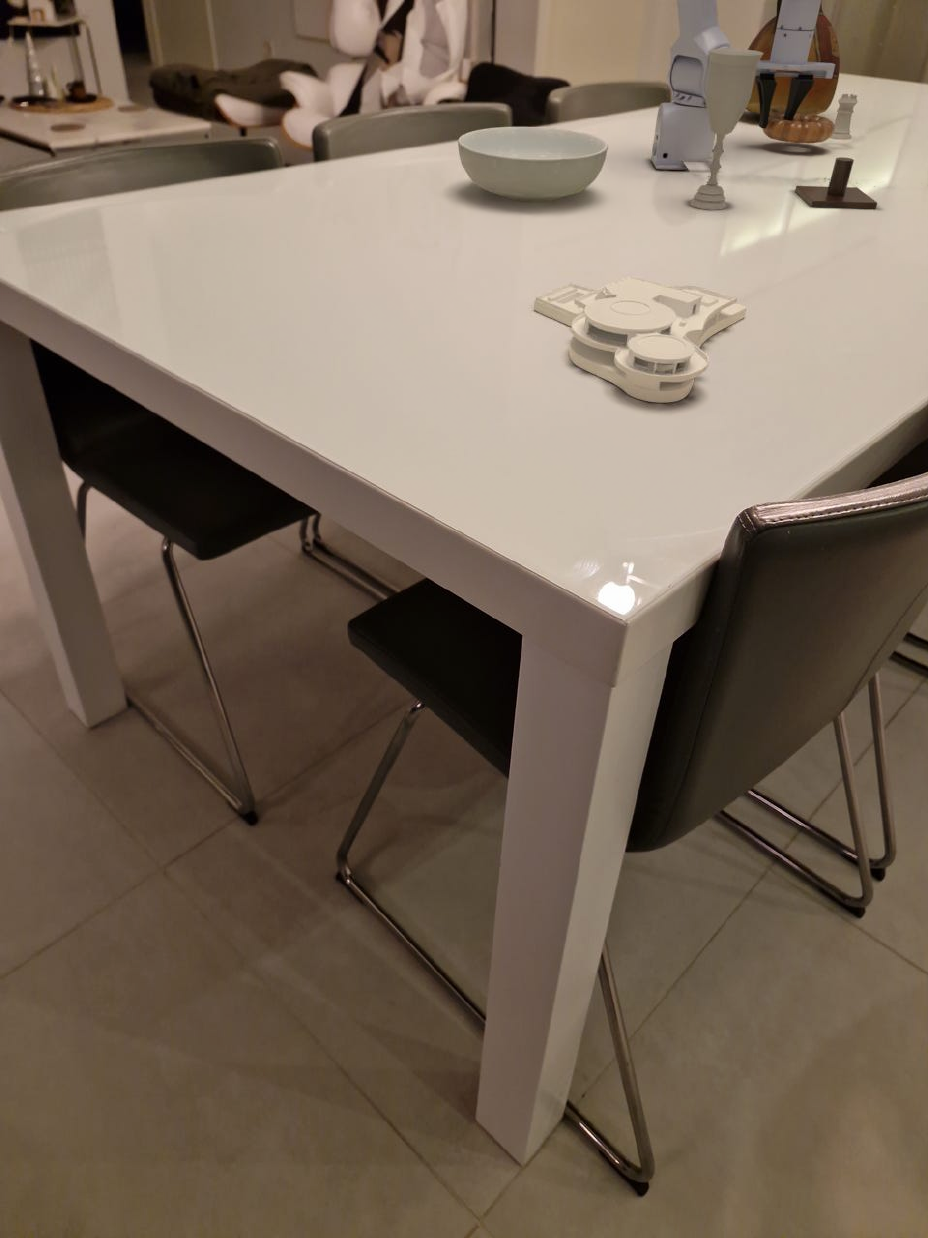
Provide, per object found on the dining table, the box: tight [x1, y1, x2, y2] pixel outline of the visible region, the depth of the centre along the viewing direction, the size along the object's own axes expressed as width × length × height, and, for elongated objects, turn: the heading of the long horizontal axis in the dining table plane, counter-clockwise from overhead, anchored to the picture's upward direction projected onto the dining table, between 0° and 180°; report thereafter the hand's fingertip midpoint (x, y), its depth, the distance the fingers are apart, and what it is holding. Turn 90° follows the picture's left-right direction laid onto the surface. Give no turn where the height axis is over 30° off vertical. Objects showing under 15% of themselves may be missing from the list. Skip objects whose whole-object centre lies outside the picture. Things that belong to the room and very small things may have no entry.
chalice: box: [689, 48, 763, 211], centre depth 115 cm, size 7×7×18 cm
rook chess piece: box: [829, 93, 859, 141], centre depth 152 cm, size 4×4×8 cm
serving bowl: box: [457, 126, 609, 203], centre depth 121 cm, size 21×21×7 cm
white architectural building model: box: [533, 276, 748, 404], centre depth 80 cm, size 23×25×4 cm
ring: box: [762, 113, 835, 144], centre depth 143 cm, size 11×11×3 cm
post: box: [794, 156, 878, 210], centre depth 122 cm, size 9×9×5 cm
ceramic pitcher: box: [745, 0, 841, 117], centre depth 166 cm, size 20×20×30 cm
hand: (773, 127), depth 143 cm, fingers closed on ring, 3 cm apart
